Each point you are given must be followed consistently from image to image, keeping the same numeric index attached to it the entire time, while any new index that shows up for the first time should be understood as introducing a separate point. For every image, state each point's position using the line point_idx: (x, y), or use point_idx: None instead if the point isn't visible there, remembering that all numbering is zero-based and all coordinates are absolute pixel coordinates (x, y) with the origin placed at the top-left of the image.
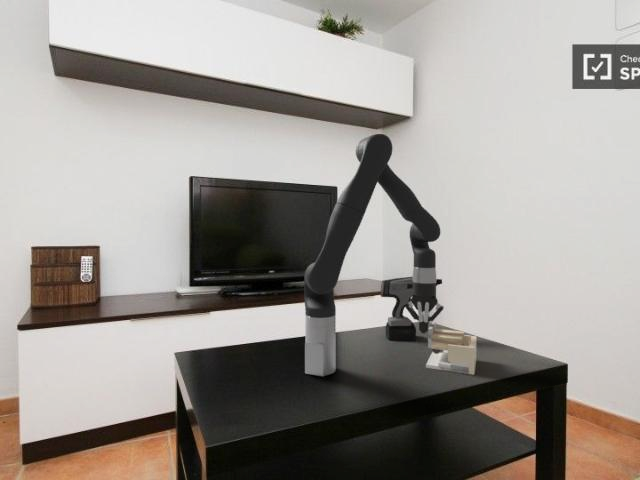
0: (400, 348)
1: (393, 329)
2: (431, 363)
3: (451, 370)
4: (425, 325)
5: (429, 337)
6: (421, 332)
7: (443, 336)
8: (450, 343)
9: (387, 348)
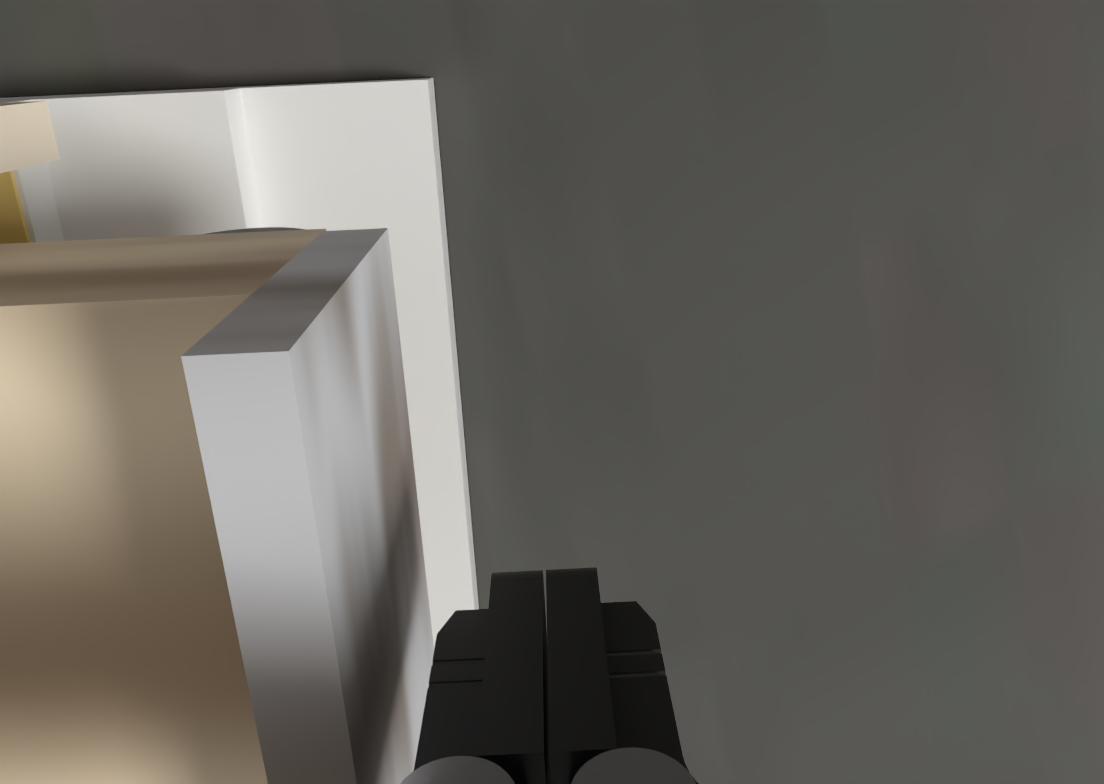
0: (914, 680)
1: None
2: (365, 170)
3: (59, 95)
4: (481, 696)
5: (311, 283)
6: (585, 568)
7: None
8: None
9: (1084, 611)
